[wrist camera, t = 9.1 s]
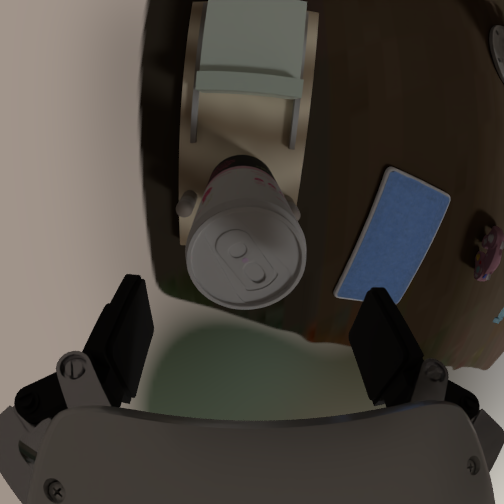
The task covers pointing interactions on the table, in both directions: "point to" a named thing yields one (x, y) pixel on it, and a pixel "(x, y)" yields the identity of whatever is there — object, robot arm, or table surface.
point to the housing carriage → (253, 48)
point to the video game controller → (489, 254)
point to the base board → (239, 126)
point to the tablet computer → (393, 236)
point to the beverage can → (244, 238)
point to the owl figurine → (499, 317)
